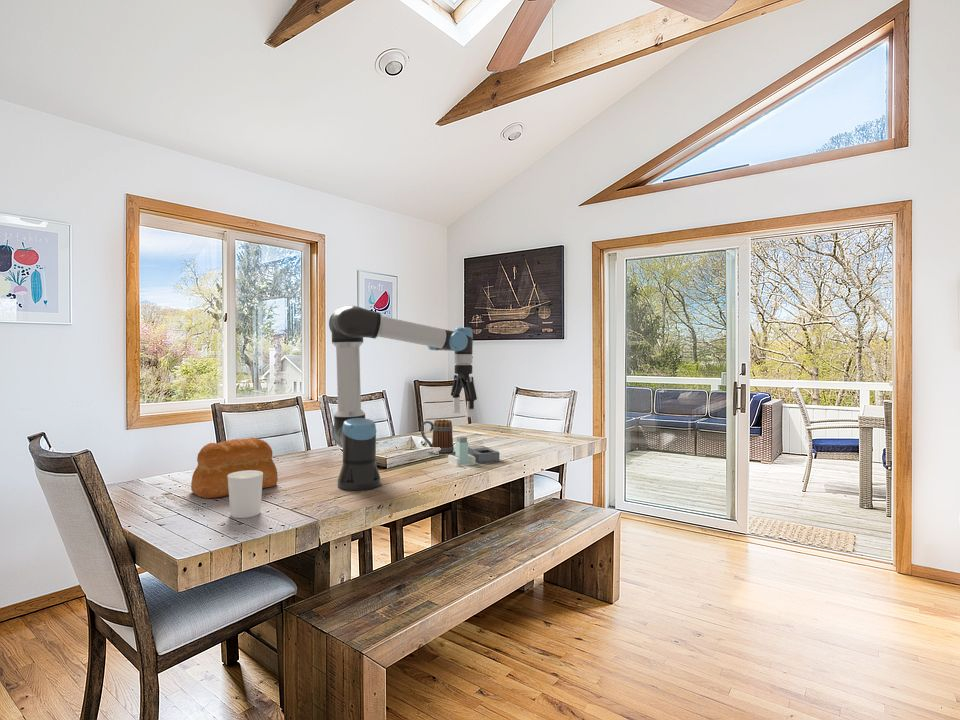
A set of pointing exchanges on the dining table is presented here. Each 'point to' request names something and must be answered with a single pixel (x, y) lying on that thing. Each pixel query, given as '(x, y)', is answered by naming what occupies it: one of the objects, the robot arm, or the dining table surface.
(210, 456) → the bread
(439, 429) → the mug
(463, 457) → the plug
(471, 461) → the holster
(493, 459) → the port panel
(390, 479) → the dining table surface
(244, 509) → the candle holder
